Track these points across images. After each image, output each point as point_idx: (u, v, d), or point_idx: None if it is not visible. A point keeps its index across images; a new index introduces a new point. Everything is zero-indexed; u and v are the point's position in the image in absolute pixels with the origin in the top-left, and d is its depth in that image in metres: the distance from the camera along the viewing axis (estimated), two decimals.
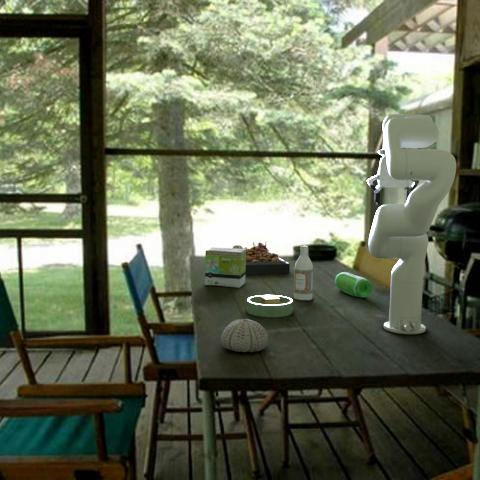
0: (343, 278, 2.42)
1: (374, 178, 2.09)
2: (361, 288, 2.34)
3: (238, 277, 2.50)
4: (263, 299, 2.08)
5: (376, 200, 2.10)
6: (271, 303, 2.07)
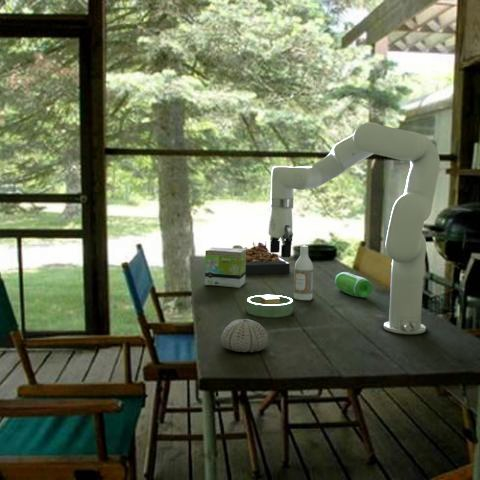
0: (343, 278, 2.42)
1: None
2: (361, 288, 2.34)
3: (238, 277, 2.50)
4: (263, 299, 2.08)
5: None
6: (271, 303, 2.07)
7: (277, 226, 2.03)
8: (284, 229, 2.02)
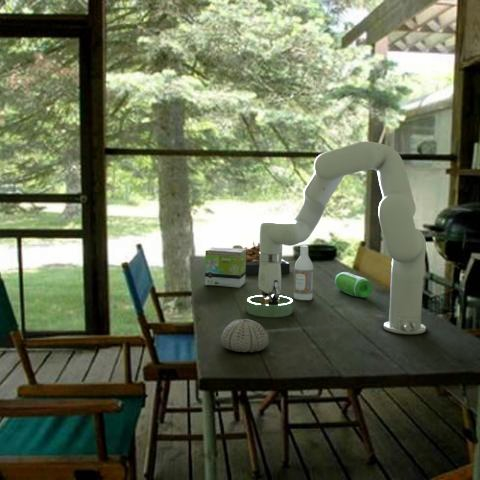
0: (343, 278, 2.42)
1: None
2: (361, 288, 2.34)
3: (238, 277, 2.50)
4: (263, 299, 2.08)
5: None
6: None
7: (266, 281, 2.05)
8: (273, 284, 2.04)
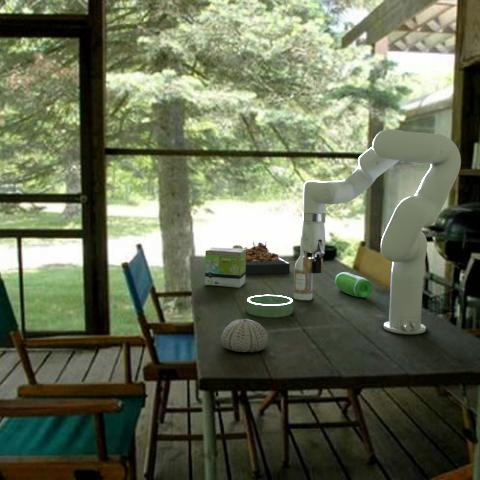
0: (343, 278, 2.42)
1: None
2: (361, 288, 2.34)
3: (238, 277, 2.50)
4: (306, 259, 2.08)
5: None
6: None
7: (310, 240, 2.04)
8: (317, 243, 2.03)
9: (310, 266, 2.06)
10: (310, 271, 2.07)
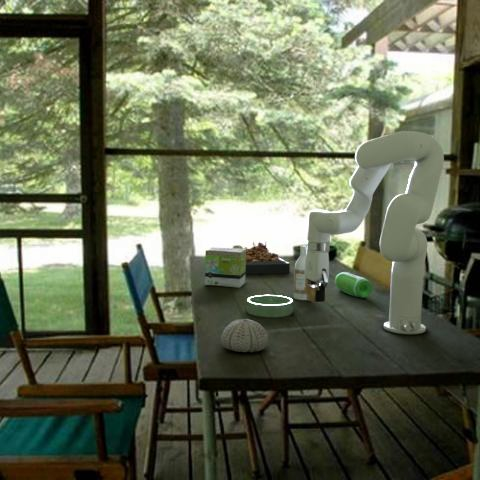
0: (343, 278, 2.42)
1: None
2: (361, 288, 2.34)
3: (238, 277, 2.50)
4: (310, 287, 2.10)
5: None
6: None
7: (314, 269, 2.06)
8: (321, 273, 2.05)
9: (313, 295, 2.08)
10: (314, 299, 2.08)
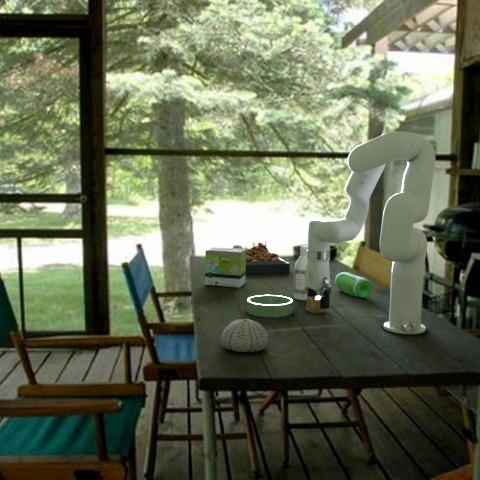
0: (343, 278, 2.42)
1: None
2: (361, 288, 2.34)
3: (238, 277, 2.50)
4: (310, 300, 2.10)
5: None
6: (318, 304, 2.09)
7: (315, 278, 2.06)
8: (322, 281, 2.05)
9: (313, 307, 2.09)
10: (313, 312, 2.09)
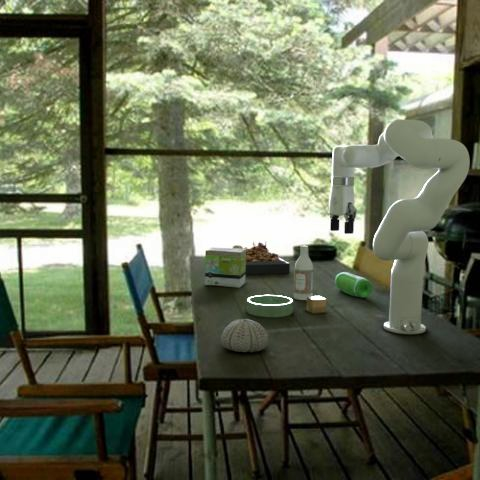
0: (343, 278, 2.42)
1: None
2: (361, 288, 2.34)
3: (238, 277, 2.50)
4: (310, 300, 2.10)
5: None
6: (318, 304, 2.09)
7: (340, 203, 2.10)
8: (347, 206, 2.09)
9: (313, 307, 2.09)
10: (313, 312, 2.09)
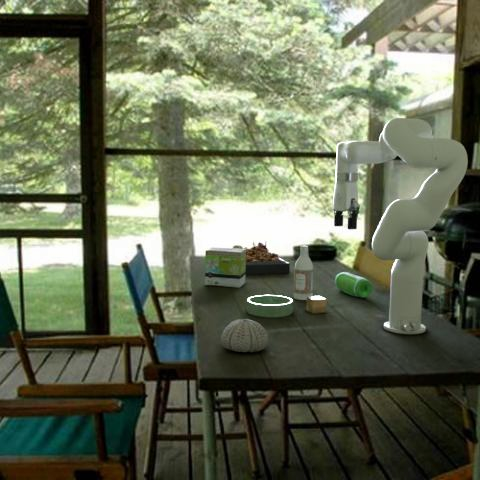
0: (343, 278, 2.42)
1: None
2: (361, 288, 2.34)
3: (238, 277, 2.50)
4: (310, 300, 2.10)
5: None
6: (318, 304, 2.09)
7: (343, 199, 2.11)
8: (350, 202, 2.10)
9: (313, 307, 2.09)
10: (313, 312, 2.09)
